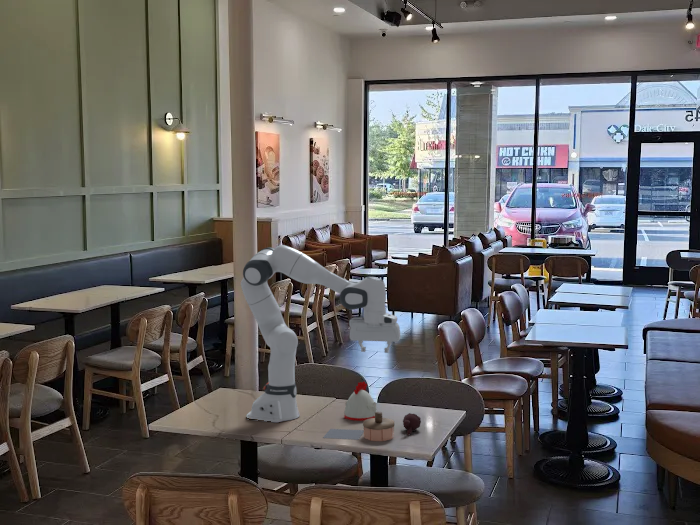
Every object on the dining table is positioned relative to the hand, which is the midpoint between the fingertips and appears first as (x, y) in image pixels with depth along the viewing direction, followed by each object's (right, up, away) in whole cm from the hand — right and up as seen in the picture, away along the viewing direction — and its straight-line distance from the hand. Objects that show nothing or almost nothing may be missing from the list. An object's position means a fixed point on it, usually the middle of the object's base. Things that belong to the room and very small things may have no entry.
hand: (375, 352), depth 317 cm
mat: (-12, -31, -8) cm, 35 cm away
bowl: (+1, -32, -12) cm, 34 cm away
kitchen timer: (-5, -30, +17) cm, 34 cm away
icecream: (+14, -31, -3) cm, 34 cm away
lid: (+1, -27, -13) cm, 29 cm away
